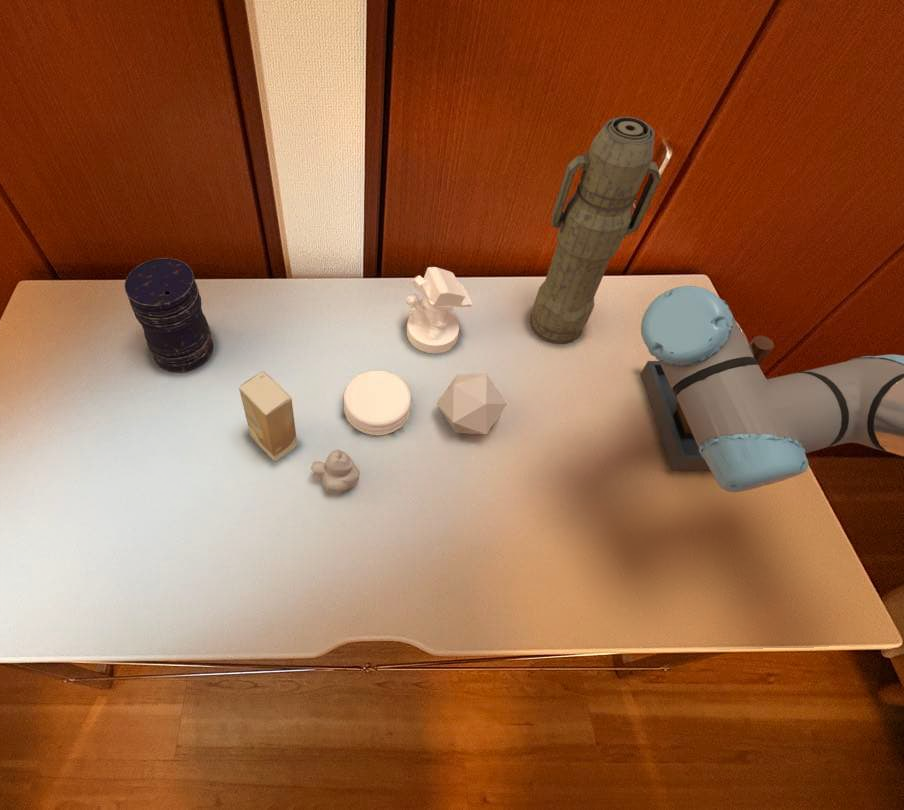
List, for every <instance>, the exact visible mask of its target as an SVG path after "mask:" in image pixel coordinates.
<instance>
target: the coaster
mask: <svg viewBox="0 0 904 810" xmlns="http://www.w3.org/2000/svg"><path fill="white" fill-rule="evenodd" d="M411 408H412V394H411V389H410V388H409V386H408V385H407V383H406V382H405V381H404V380H403V379H402V378H401V377H400V376H398V375H396V374H395V373H392V372H389V371H386V370H378V369H377V370H369V371H365V372H362V373H360V374H358V375H356V376H355V377H353V378H352V379H351V380H350V381H349V383H348V384H347V385H346V387H345V389H344V393H343V413H344V415H345V417H346V419H347V421H348V423H350V425H351V426H352V427H354V428H355V429H356V430H357V431H359V432H361V433H364V434H366V435H371V436H385V435H389V434H391V433H394V432H396V431H398V430H400V429H401V428H402V427H403V426H404V425H405V423H406V422H407V421H408V418H409V417H410V414H411Z"/></svg>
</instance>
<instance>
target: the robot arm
mask: <svg viewBox="0 0 904 810" xmlns="http://www.w3.org/2000/svg"><path fill="white" fill-rule="evenodd" d="M640 333H641V337H642V341H643V343H644V344H645V346H646V348H647V350H648V352H649V354H650V355H651V356H652V357H655V360H656V361H659V362H660V365H661V367H662V369H663V371H664V373H665V376H666V378H667V380H668V382H669V384H670V386H671V389H672V391H674V393H675V395H676V397H677V400H678V402H679V404H680V407H681V409H682V411H683V413H684V416H685V418H686V420H687V423H688V425H689V427H690V429H691V432H692V434H693V436H694V438H695V441H696V443H697V445H698V447H699V452H700V454H701V456H702V457H703V458H704V459H705V461H706V463H707V464H708V466H709V468H710V470H711V471H710V472H711V474H712V476H713V478H714V480H715V481H716V484H717V485H718V487H720V489H722V490H723V491H726V492H727V493H733V494H734V493H735V494H736V493H742V492H746V491H747V492H748V491H751V490H755V489H759V488H762V487H765V486H770V485H773V484H776V483H779V482H783V481H785V480H789V479H791V478H794V477H796V476H799V475H802V474H804V473H805V472H806V471H807V470H808V468H809V460H808V458H807V455H806V454H808V453H812V452H816V451H818V450H819V451H820V450H822V449H826V448H832V447H835V446H840V445H843V444H844V445H845V444H860V445H863V446H865V447H869V448H871V449H875V450H879V451H882V452H886V453H890V454H893V455H897V456H900V457H903V458H904V355H902V354H882V355H866V356H860V357H857V358H852V359H848V360H847V361H841V362H838V363H833V364H829V365H824V366H821V367H816V368H812V369H808V370H802V371H799V372H793V373H790V374H789V373H788V374H785V375H781V376H780V375H779V376H776V377H772V378H767V377H766V375H765V374H764V372H763V371H762V369H761V367H760V365H758V363H757V361H756V359H755V358H754V354H753V350H752V347H751V345H750V343H751V342H750V341H749V340H748V338H747V335H746V334H745V332H744V331H743V329H742V328H741V326H740V325H739V322H737V321H736V319H735V317H734V315H733V313H732V311H731V308H730V306H729V304H728V303H727V302H726V301H725V300H724V299H722V298H721V297H719V296H718V295H717V294H716V293H715V292H713V291H711V290H710V289H707V288H704V287H701V286H695V285H683V286H677V287H674V288H671V289H669V290H666V291H664V292H663V293H661V294H660V295H658V296H657V297H656V298H654V300H652V302H651V303H650V304H648V307H647V308H646V310H645V312H644V314H643V316H642V319H641V323H640Z"/></svg>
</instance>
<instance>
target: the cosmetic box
mask: <svg viewBox="0 0 904 810" xmlns="http://www.w3.org/2000/svg"><path fill="white" fill-rule="evenodd" d="M238 390H239V392H240V393H239V395H240V398H241V403H242V407H243V410H244V415H245V420H246V423H247V428H248V431H249V436H250V437H251V438H252V440H253V441H254V442H255V443H256V444H257V445H258V446H259V448H260V449H261V450H262V451H263V452H264V453H265V454H266V455H267V456H268V457H269V458H271V460H272V461H273V462H276V461H278V460H280V459H282V457H284V456H286V455H287V454H288V453H290V452H291V451H292V450H294V449H295V448H297V447H298V440H297V439H298V438H297V433H296V432H297V431H296V423H295V415H294V407H293V398H292V396H290V394H289V393H288V392H287V391H286V390H284V388H283V387H282V386H281V385H280V384H279V383H277V381H276V380H274V378H272V377H271V376H270V374H268V373H267V372H266V371H265V370H262V371H260V372H258V373H257V374H255V375H253V376H252V377H251V378H249V379H247V380H246V381H245V382H243V383H242V384H240V385H239V386H238Z"/></svg>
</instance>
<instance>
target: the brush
mask: <svg viewBox="0 0 904 810" xmlns="http://www.w3.org/2000/svg"><path fill="white" fill-rule="evenodd" d="M749 343H750V345H751V347H752V350H753V354H754V358H755V359H756V361H757V363H758V365H759V366H761V364H762V363H763V362H764V360H765V359H766V358H767V357H768V355H769V354H770V353H771V351H772V350H773V349H774V347H775V345H774V342H773V340H772V339H770V338H769V337H767V336H764V335H757V336H754V338H753V339H752V340H751V342H749ZM676 407H677V410H676V412H675V413H674V415H675V418H676V420H677V423H678V426H679V429H680V432H681V435H682V437H683V438H694V436H693V434H692V432H691V429H690V427H689V425H688V423H687V420H686V418H685V416H684V413H683V411H682V409H681V407H680V404H679V402H678V403H677V405H676Z"/></svg>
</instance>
